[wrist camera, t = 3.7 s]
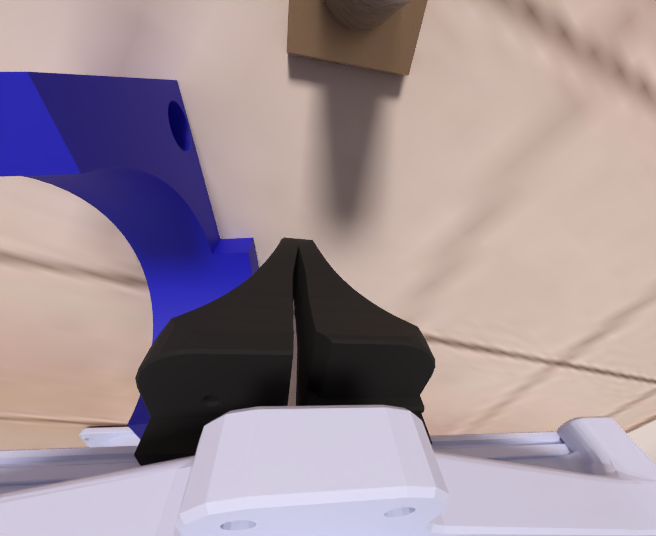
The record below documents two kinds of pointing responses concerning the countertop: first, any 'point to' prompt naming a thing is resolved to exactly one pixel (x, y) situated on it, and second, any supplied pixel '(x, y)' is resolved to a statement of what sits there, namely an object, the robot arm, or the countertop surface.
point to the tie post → (356, 32)
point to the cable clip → (127, 179)
